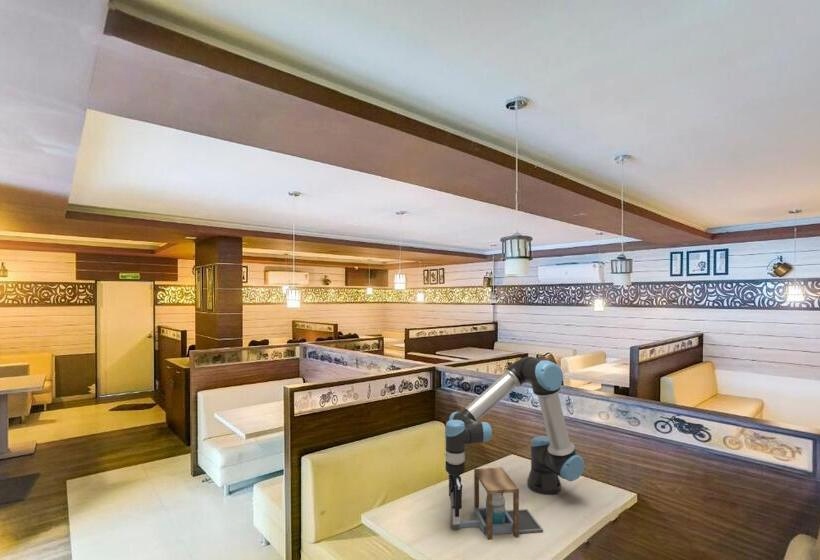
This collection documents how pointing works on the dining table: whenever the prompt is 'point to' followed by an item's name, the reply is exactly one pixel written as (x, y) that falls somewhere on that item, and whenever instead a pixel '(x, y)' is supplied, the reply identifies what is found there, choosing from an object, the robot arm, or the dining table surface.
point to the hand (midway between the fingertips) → (455, 520)
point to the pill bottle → (497, 509)
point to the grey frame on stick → (480, 522)
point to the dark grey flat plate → (526, 522)
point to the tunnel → (493, 484)
